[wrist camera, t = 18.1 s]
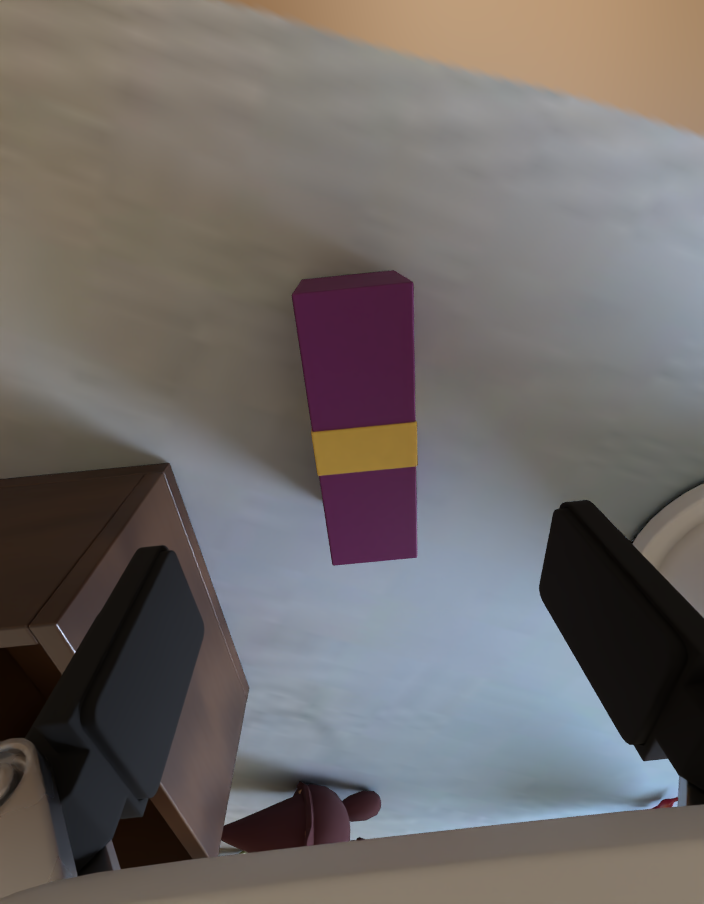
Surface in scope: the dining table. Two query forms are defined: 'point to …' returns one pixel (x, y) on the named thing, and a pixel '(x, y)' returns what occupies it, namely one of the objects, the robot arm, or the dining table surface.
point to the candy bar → (362, 410)
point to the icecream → (302, 820)
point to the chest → (75, 608)
